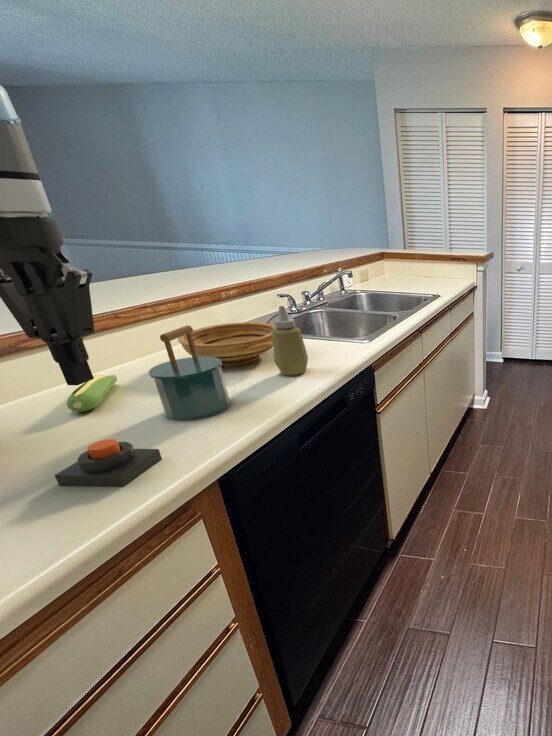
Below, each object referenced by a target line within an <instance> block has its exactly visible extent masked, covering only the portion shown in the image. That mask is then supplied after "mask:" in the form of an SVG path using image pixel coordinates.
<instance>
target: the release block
mask: <svg viewBox="0 0 552 736" xmlns="http://www.w3.org/2000/svg"><path fill="white" fill-rule="evenodd" d="M118 444H119V446H120V449H121V450H120V451H119V452H118V453H116V454H114V455H111V456H108V457H105V458H100V459H92V458H91V456H90V454H89V452H88V449H87V450H86V451H84V452H81V454H79V456H78V458H77V459H76V462H74V463H72V464H70V465H69V466H67V467H66V468H64V469H61V470H60V471H59V472H57V473H56V474H54V477H55V480H56V482H57V484H58V486H59V487H85V488H86V487H89V488H91V487H92V488H125V487H127V486H128V485H129V484H130V483H132V482H133V481H134V480H136V479H137V478H138V477H140V476H142V474H144V473H146V472H147V471H148V470H150V469H152V467H154V466H155V465H157V464H158V463H159V462H160V461H162V460H163V458H162V455H161V452H160V449H159V448H134V445H133V444H132V443H131V442H128V441H118Z"/></svg>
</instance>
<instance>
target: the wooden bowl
mask: <svg viewBox="0 0 552 736" xmlns="http://www.w3.org/2000/svg"><path fill="white" fill-rule="evenodd" d="M275 328H276V327H275V324H272V323H267V322H256V321H255V322H253V321H247V322H246V321H243V322H230V323H221V324H214V325H210V326H204V327H200V328H196V329H193V332H192V333H191V335H192V338H193V342H194V346H195V349H196V353H197V356H198V357H216V358H219V359H221V361H222V365H221V366H237V365H239V366H240V365H244V364H248V363H251V362H254V361H256V360H258V359H259V358H260V355H262V354H264V353H266V352H267V351H270V350H271V349H272V348H273V337H272V331H273V330H274V329H275ZM177 341H178V343H180V345H181V347H182V348H183V350H184V351H185V352H186V353H187V354H188V355H190V356H192V354H191V351H190V347H189V344H188V340H187V337H186V335H184V336H182V337H179V338H177Z"/></svg>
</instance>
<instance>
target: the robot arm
mask: <svg viewBox="0 0 552 736" xmlns="http://www.w3.org/2000/svg"><path fill="white" fill-rule="evenodd" d="M21 123H22V120H21V118H20V117H19V116H18V115H17V112H16V110H15V108H14V106H13V103H12V101H11V98H10V97H9V94H8V92H7V90H6V89H5V87H3V86H2V85H1V84H0V299H1V301H2V302H3V303H4V305H5V306H6V307H7V309H8V311H9V312H10V314H11V315H12V316H13V318H14V319H15V321H16V322H17V323H18V325H19V326H20V328H21V329H22V331H23V332H24V334H25V336H27V337H28V338H30V339H35V338H36V339H40V340H41V341H42V342H44V343H45V344H47V348H48V350H49V352H50V354H51V357H52V359H53V360H54V362H55V363H58V366H59V368H60V371H61V373H62V375H63V378H64V380H65V383H66V385H67V386H81V385H83V384H84V383H86V382H87V381H90V380H92V379H94V375H93V373H92V370H91V367H90V365H89V362H88V361H89V359H90V358H89V356H90V355H89V354H88V351H87V349H86V346H85V343H84V338H85V337H88V336H90V335H93V334H95V324H94V315H93V307H92V299H91V291H90V290H91V289H90V284H91V281H92V278H93V272H92V271H91V270H90V269H87V268H84V269H80V268H79V267H76V266H74V265H73V264H71V263H70V260H69V258H68V257H67V256H66V254H65V253H64V252H63V251H62V246H63V245H64V243H65V241H64V237H63V236H62V233H61V231H60V227H59V225H58V222H57V219H54V218H53V217H49V216H48V214H50V213H52V211H53V210H52V207H51V204H50V202H49V198H48V197H47V196H48V195H47V194H46V190H45V188H44V185H43V183H42V180H41V178H40V175H39V171H38V169H37V166H36V163H35V159H34V157H33V155H32V151H31V148H30V146H29V143H28V140H27V138H26V134H25V132H24V129H23V126H22V124H21Z"/></svg>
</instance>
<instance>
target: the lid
mask: <svg viewBox="0 0 552 736" xmlns="http://www.w3.org/2000/svg"><path fill="white" fill-rule="evenodd" d="M193 330H194V329H193V327H192V326H191V325H185V326H182V327H181V326H180V327H179V328H176V329H173V330H171V331H167V332H164V333H162V334H160V335H159V339H160V341H161V342H163V343H164V347H165V349H166V352H167V356H168V359H169V360H168V361H165V362H162V363H159V364H157V365H154V366H153V367H150V369H149V370H148V375H149V377H150V378H152V379H153V378H155V379H182V378H189V377H194V376H198V375H202V374H206V373H209V372H212V371H214V370H216V369H218V368H219V367H221V368H222V366H223V365H222V361H221V359H219V358H216V357H198V356H197V353H196V349H195V346H194V342H193V338H192V335H191V333H192V332H193ZM184 335H186V337H187V340H188V344H189V347H190V351H191V354H192V355H191V356H190V357H189V356H188V357H183V358H178V359H177V358H176V356H175V352H174V350H173V346H172V343H171V342H172V341H173V340H176V339H178V338H179V337H182V336H184Z"/></svg>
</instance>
